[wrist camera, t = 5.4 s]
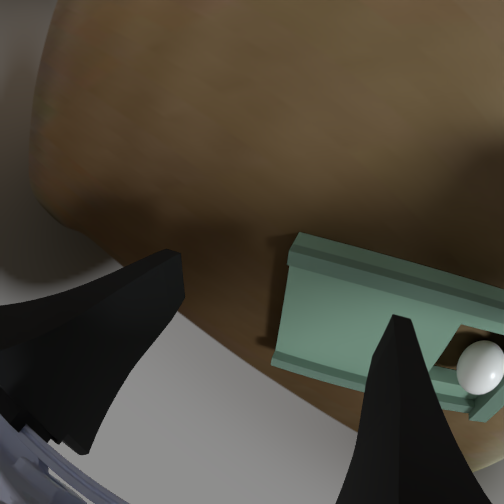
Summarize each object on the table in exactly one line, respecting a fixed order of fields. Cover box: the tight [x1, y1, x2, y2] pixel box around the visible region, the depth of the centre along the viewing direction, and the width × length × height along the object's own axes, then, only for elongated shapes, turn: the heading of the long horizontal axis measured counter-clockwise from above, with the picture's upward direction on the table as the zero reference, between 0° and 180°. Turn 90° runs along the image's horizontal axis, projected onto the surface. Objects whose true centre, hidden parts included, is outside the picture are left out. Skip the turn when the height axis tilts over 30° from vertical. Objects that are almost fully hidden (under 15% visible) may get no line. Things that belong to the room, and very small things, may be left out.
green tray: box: [271, 232, 504, 422], centre depth 19 cm, size 20×11×3 cm, turn 87°
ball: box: [457, 340, 504, 395], centre depth 17 cm, size 4×4×4 cm
